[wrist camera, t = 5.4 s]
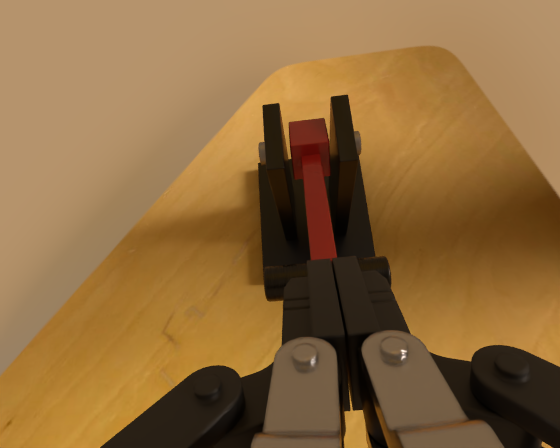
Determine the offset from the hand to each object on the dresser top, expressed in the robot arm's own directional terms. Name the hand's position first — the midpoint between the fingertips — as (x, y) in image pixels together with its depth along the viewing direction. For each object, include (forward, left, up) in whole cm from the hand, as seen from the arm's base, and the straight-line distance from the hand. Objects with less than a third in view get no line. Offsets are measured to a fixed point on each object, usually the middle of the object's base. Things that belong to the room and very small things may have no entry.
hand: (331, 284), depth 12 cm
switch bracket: (-8, -6, -19) cm, 22 cm away
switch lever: (-4, -3, -7) cm, 9 cm away
